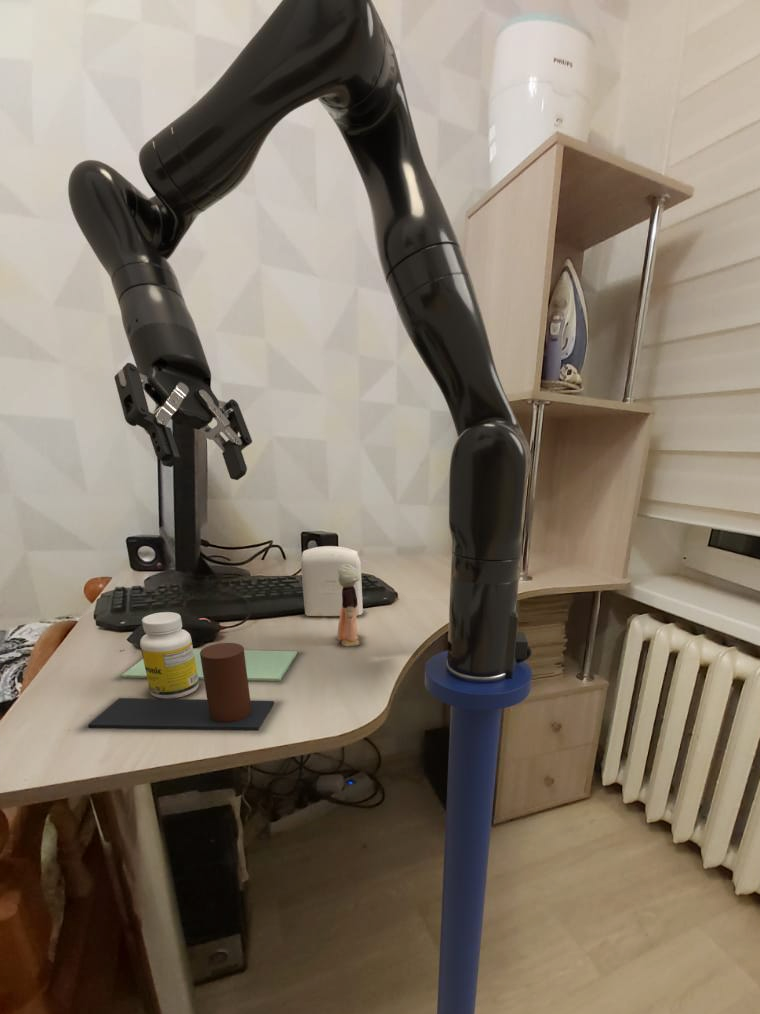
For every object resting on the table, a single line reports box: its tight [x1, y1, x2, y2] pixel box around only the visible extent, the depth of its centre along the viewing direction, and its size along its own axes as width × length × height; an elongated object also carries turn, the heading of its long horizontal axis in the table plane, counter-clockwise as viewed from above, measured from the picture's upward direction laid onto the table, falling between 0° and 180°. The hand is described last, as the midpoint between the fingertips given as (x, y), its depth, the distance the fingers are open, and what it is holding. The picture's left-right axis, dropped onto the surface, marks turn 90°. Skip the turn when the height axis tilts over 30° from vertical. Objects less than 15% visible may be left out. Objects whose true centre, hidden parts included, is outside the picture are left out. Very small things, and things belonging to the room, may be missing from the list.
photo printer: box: [300, 545, 364, 617], centre depth 91 cm, size 10×4×12 cm, turn 99°
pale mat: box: [121, 648, 298, 682], centre depth 72 cm, size 20×9×1 cm, turn 94°
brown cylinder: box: [200, 642, 251, 723], centre depth 59 cm, size 4×4×8 cm
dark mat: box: [87, 697, 275, 731], centre depth 60 cm, size 18×6×1 cm, turn 94°
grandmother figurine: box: [337, 564, 362, 647], centre depth 80 cm, size 8×4×13 cm, turn 23°
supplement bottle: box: [139, 611, 200, 699], centre depth 63 cm, size 5×5×10 cm
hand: (207, 470), depth 60 cm, fingers open, 8 cm apart
